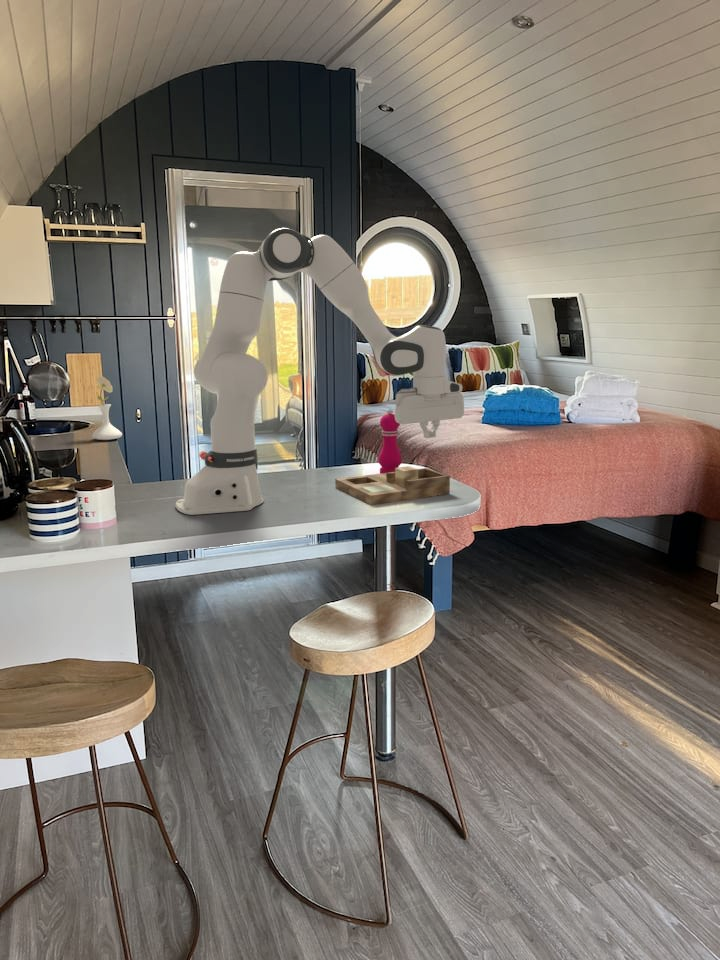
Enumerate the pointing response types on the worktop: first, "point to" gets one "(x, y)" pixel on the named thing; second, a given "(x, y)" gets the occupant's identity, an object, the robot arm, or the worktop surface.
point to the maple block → (405, 475)
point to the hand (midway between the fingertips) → (429, 437)
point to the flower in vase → (105, 415)
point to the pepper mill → (389, 444)
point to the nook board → (394, 486)
